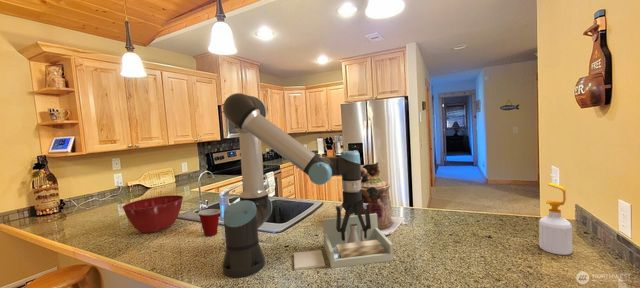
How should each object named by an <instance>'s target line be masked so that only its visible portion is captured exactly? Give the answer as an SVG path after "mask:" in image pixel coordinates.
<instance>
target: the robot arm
mask: <svg viewBox="0 0 640 288" xmlns="http://www.w3.org/2000/svg"><path fill="white" fill-rule="evenodd" d="M222 110H223V111H222V112H223V115H224V117H225V118H226V119H227V121H228V122H229V123H230V124H232V125H233V126H234V130H235V131H236V132H237V133H238V135H239V148H240V150H239V151H240V163H241V165H240V166H241V178H242V179H241V180H242V192H241V193H240V194H239V201H235V202H233V203H231V204H229V205H227V206H226V207H225V208H224V210H223V217H222V218H223V226H224V227H223V228H224V237H225V248H226V249H225V254H224V257H223V261H222V273H223V275H225V276H227V277H229V278H244V277H248V276H251V275H254V274H256V273H258V272H259V271H261V270H262V269H263V268H264V267H265V265H266V259H265V258H266V257H265V255H264V253H263V250H262V248H261V245H260V242H259V230H258V229H259V228H261V227H262V226H263V224H264V223H266V222H267V221H268V220H269V218H270V217H271V214H272V212H273V203H272V200H271V199H270V198H269V192H268V191H267V190H266V189H265V185H264V184H265V181H264V167H263V166H264V165H263V152H262V151H263V150H262V143H263V144H265V145H266V146H268V147H269V148H270V149H272V151H274V152H276V153H277V154H278V155H280V156H281V157H283V158H284V159H285V160H286V161H288V162H289V163H291V164H292V165H294V166H295V167H296V168H297V169H299V170H300V171H301V172H303V173H305V174H306V175H307V176H308V178H309V180H310V181H311V182H312V183H313V184H315V185H319V186H320V185H321V186H323V185H324V184H326V183H328V181H330V180H331V179H332V177H336V176H340V177H341V184H342V185H341V188H342V189H341V190H342V203H341V204H340V205H335V211H336V217H337V222H336V229H337V231H338V232H341V238H342V240H343V241H344V244H346V243H347V233H346V231H345V230H346V226H347V223H348V219H349V217H350V216H351V215H353V214H354V215H355V214H357V216H358V218H359V221H360V224H361V226H362V229H360V231H361V242H362V241H365V240H364V239H365V238H367V230H368V229H371V223H370V214H369V208H370V205H369V204H368V203H366V204H365V203H363V202H362V191H361V180H362V177H361V169H362V167H361V165H362V164H361V157H360V156H361V155H360V152H359V151H357V150H344V151H341V152H340V156H326V157H323V156H318V155H316V153H314V152H313V151H312V150H310V149H309V148H308V147H306V146H305V145H303V144H302V143H301V142H299V141H298V140H297V139H295V138H293V136H291V135H290V134H288V133H287V132H286V131H284V130H283V129H281V127H279V126H277V125H276V124H274V123H273V122H272V121H271V120H269V119H267V118H266V116H267V108H266V106H265V103H264V102H263V101H262V100H261V99H259V98H258V97H257V96H253V95H252V96H251V95H247V94H245V93H241V92H238V93H233V94H231V95H229V96H227V98H226V99H225V100H224V102H223V106H222ZM362 207H363V208H364V210H365V219H366V226H365V223H364V221H363V218H362V216H361V212H360V210H361V208H362ZM343 210H344V211H345V212H344V216H343V217H344V219H343V223H342V227H341V217H342V211H343Z"/></svg>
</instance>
